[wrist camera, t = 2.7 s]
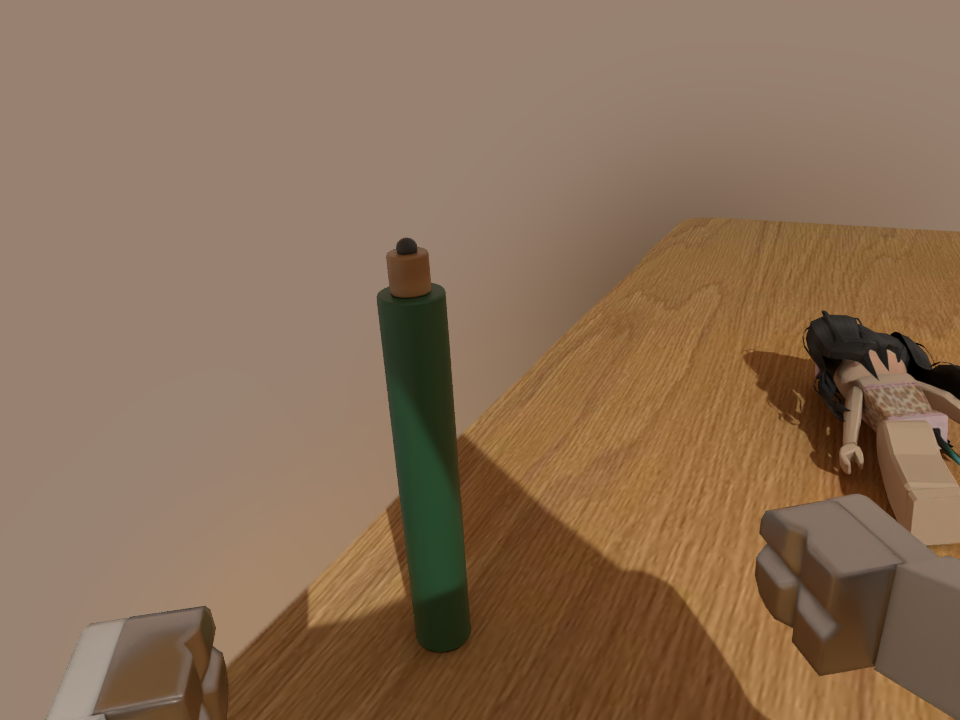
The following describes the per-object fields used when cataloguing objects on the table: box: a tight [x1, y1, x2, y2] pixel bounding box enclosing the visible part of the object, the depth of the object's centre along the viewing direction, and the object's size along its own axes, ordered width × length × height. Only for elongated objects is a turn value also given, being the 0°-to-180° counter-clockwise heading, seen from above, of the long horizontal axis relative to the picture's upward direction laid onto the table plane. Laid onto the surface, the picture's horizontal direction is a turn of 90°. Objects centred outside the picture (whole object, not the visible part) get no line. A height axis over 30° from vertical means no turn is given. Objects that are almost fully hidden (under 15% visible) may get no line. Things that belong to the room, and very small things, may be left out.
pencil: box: [377, 238, 471, 652], centre depth 24 cm, size 2×2×15 cm
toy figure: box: [803, 311, 960, 545], centre depth 35 cm, size 7×6×15 cm
